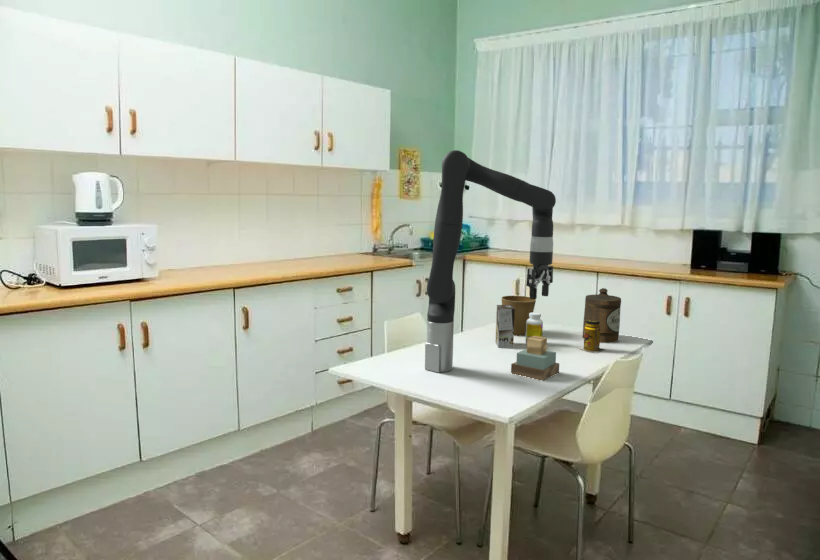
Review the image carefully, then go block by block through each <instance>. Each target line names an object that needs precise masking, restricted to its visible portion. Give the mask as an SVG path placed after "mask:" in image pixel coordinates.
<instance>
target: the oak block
mask: <svg viewBox="0 0 820 560" xmlns="http://www.w3.org/2000/svg"><path fill="white" fill-rule="evenodd" d="M547 345H548V337H545V336H544V337H543V336H542V337H538V336H532V337H530V338H527V344H526V349H527V353H531V354H537V355H542V354H544V353H546V352H547V351H548V350H547V347H548V346H547Z"/></svg>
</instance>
